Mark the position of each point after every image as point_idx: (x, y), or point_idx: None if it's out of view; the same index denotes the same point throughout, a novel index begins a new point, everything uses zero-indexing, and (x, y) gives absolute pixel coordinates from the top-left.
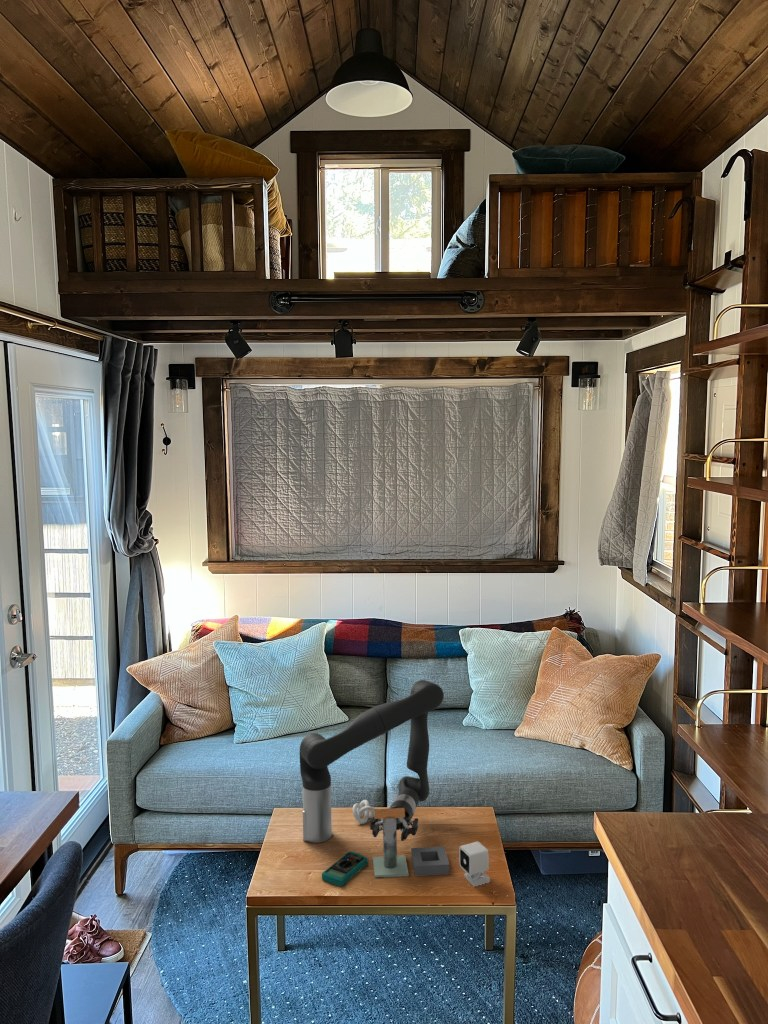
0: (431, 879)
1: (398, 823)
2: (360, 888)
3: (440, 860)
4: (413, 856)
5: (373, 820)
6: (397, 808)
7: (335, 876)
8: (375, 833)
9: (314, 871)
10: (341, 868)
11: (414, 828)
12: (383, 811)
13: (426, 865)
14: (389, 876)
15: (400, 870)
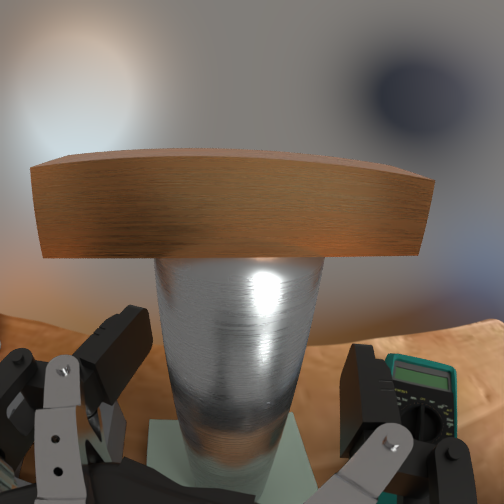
0: None
1: (124, 462)
2: (325, 367)
3: (11, 406)
4: None
5: (450, 476)
6: (120, 158)
7: (412, 357)
8: (349, 354)
9: (484, 406)
10: (421, 398)
11: (22, 352)
12: (314, 156)
13: None
14: None
15: (181, 441)
